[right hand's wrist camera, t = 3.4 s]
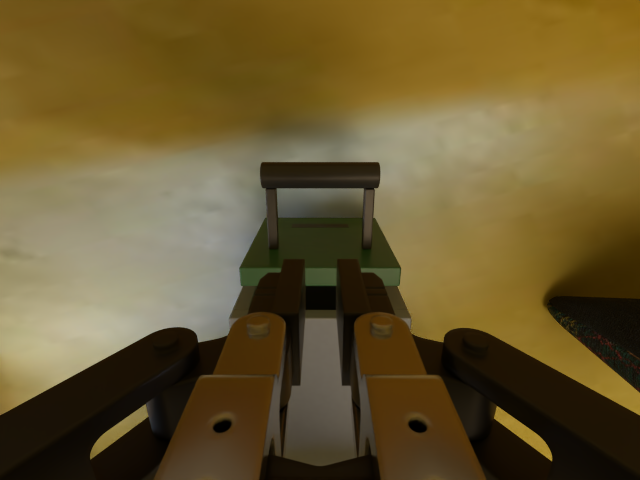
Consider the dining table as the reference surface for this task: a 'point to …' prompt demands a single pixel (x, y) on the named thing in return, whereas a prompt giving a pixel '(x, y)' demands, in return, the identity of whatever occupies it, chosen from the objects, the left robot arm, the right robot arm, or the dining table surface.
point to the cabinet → (320, 387)
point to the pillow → (604, 330)
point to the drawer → (320, 231)
